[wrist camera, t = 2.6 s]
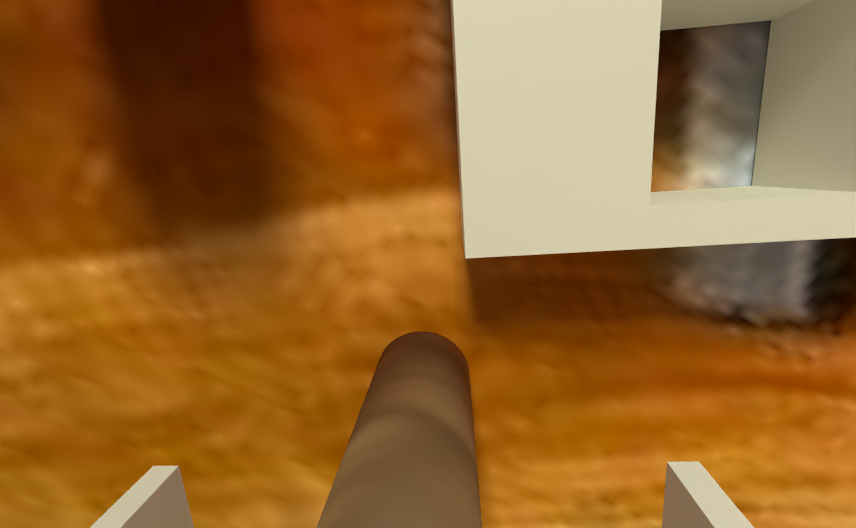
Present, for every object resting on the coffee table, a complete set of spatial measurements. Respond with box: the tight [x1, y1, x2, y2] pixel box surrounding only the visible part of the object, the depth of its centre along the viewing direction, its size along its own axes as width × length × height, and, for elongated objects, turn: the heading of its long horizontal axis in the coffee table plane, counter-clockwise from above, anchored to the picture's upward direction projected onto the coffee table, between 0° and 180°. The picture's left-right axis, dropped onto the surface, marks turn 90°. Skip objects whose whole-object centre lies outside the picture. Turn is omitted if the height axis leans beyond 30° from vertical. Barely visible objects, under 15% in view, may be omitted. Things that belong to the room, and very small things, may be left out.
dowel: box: [317, 332, 482, 528], centre depth 12 cm, size 4×4×12 cm
